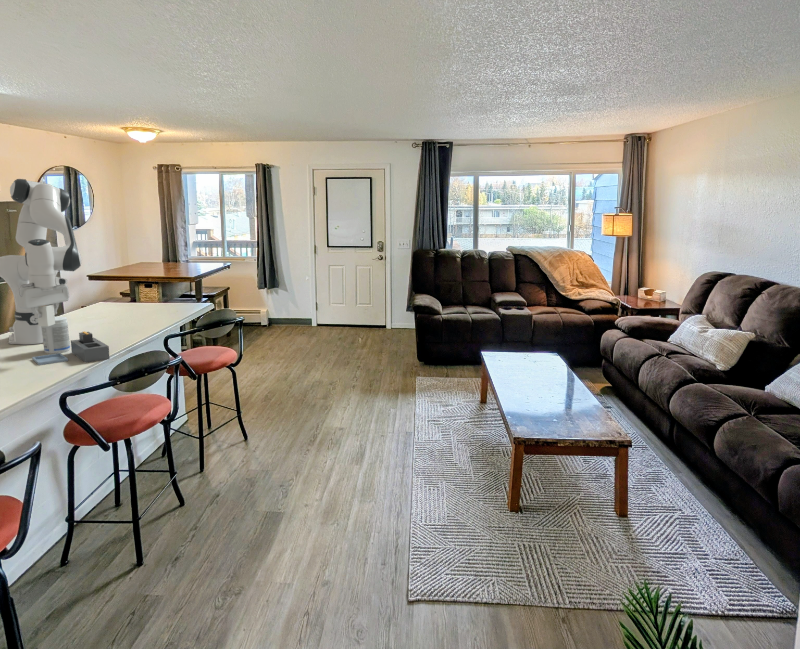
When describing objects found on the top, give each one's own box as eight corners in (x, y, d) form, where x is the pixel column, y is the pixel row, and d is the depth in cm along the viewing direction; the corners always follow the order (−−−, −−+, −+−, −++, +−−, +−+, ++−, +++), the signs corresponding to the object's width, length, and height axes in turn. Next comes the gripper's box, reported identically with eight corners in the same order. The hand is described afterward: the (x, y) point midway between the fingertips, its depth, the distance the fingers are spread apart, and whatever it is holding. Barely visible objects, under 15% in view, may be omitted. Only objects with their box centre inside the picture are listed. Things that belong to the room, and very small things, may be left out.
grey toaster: (71, 354, 227) (69, 331, 225) (95, 350, 233) (93, 329, 231) (85, 363, 215) (83, 340, 213) (109, 360, 221) (108, 337, 219)
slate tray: (32, 360, 215) (32, 357, 215) (60, 356, 222) (60, 353, 222) (39, 366, 209) (38, 362, 208) (68, 362, 216) (67, 358, 215)
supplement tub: (73, 348, 235) (71, 316, 232) (65, 354, 226) (62, 320, 223) (49, 349, 233) (46, 316, 230) (39, 354, 224) (36, 320, 221)
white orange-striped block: (46, 323, 215) (44, 303, 213) (55, 323, 215) (53, 303, 213) (38, 326, 210) (36, 305, 208) (47, 326, 210) (46, 305, 208)
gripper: (25, 285, 198) (29, 321, 201) (70, 279, 217) (73, 312, 221) (11, 284, 200) (15, 320, 203) (57, 277, 219) (61, 310, 222)
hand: (46, 316), depth 212 cm, fingers closed on white orange-striped block, 6 cm apart
